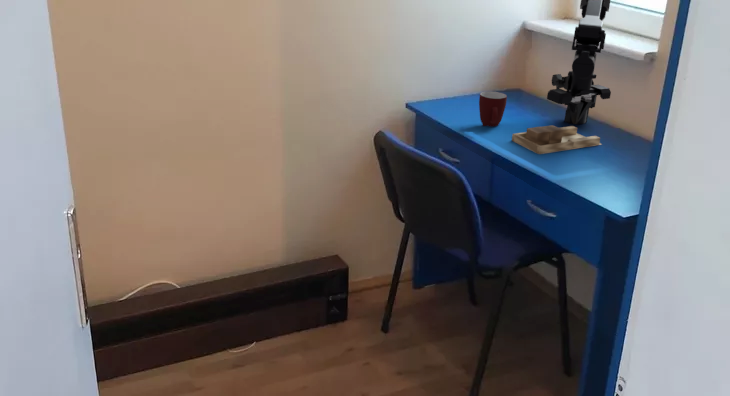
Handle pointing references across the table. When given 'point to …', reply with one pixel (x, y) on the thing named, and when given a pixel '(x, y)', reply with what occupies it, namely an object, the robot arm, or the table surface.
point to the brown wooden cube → (538, 135)
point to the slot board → (568, 142)
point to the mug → (492, 107)
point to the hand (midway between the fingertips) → (574, 123)
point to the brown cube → (554, 134)
